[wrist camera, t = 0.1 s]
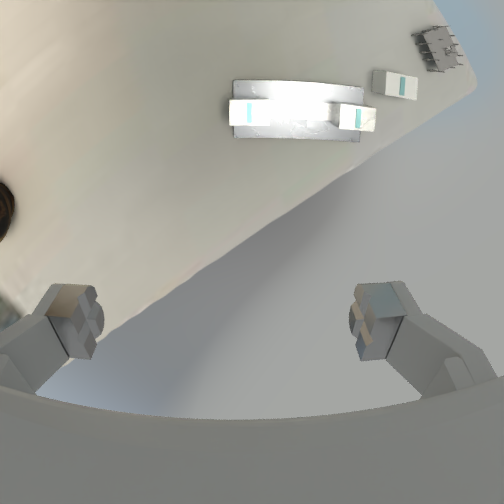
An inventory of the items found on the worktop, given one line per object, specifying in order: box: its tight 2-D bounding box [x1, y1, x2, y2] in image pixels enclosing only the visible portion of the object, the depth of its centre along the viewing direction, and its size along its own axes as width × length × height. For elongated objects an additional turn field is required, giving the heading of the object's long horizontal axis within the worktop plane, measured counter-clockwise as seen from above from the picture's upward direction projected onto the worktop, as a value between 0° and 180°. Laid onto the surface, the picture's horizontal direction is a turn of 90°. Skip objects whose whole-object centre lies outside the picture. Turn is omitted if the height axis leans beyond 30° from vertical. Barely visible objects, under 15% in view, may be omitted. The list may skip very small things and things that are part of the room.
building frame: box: [411, 26, 463, 73], centre depth 40 cm, size 6×8×6 cm
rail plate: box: [229, 80, 376, 142], centre depth 47 cm, size 10×23×6 cm, turn 90°
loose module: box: [372, 71, 418, 100], centre depth 44 cm, size 4×6×6 cm, turn 90°
